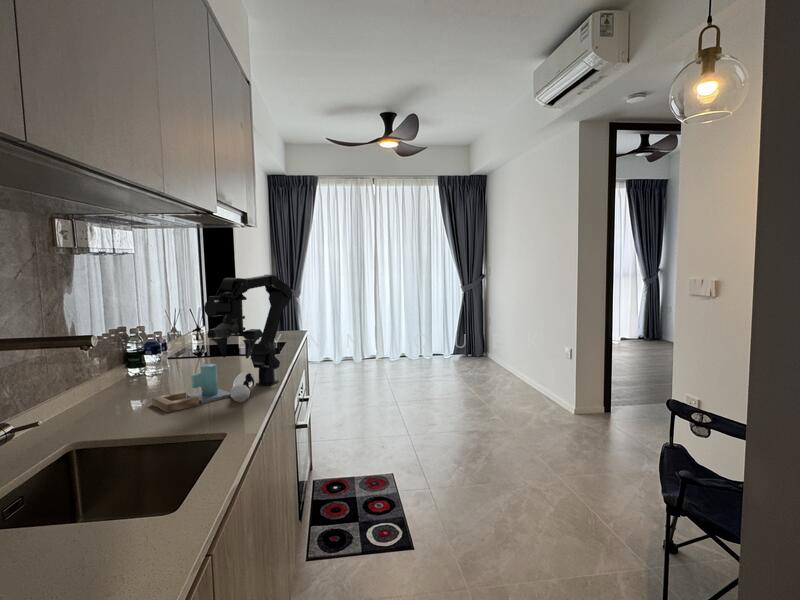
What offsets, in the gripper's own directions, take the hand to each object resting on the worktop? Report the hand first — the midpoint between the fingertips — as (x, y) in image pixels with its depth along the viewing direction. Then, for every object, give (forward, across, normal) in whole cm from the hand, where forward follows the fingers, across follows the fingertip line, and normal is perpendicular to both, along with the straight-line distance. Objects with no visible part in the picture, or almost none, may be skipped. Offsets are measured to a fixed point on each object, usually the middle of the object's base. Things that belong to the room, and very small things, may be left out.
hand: (235, 357), depth 164 cm
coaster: (+13, -7, -6) cm, 16 cm away
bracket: (+13, -12, -15) cm, 23 cm away
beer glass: (+10, +7, -8) cm, 15 cm away
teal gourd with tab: (+12, -8, -7) cm, 16 cm away
